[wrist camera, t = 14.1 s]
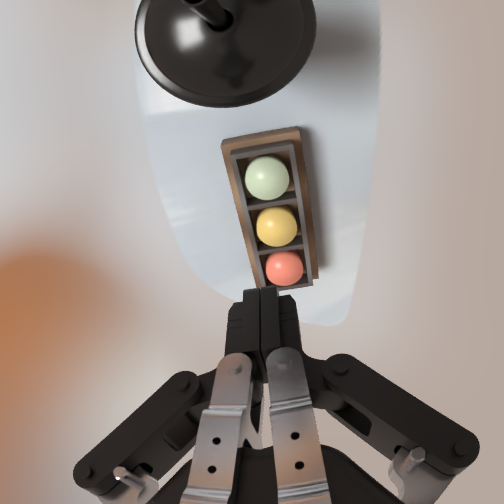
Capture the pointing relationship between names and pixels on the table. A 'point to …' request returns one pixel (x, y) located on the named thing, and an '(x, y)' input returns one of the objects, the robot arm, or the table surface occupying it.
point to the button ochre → (276, 225)
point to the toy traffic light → (295, 197)
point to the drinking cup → (224, 47)
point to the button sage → (266, 177)
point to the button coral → (284, 267)
